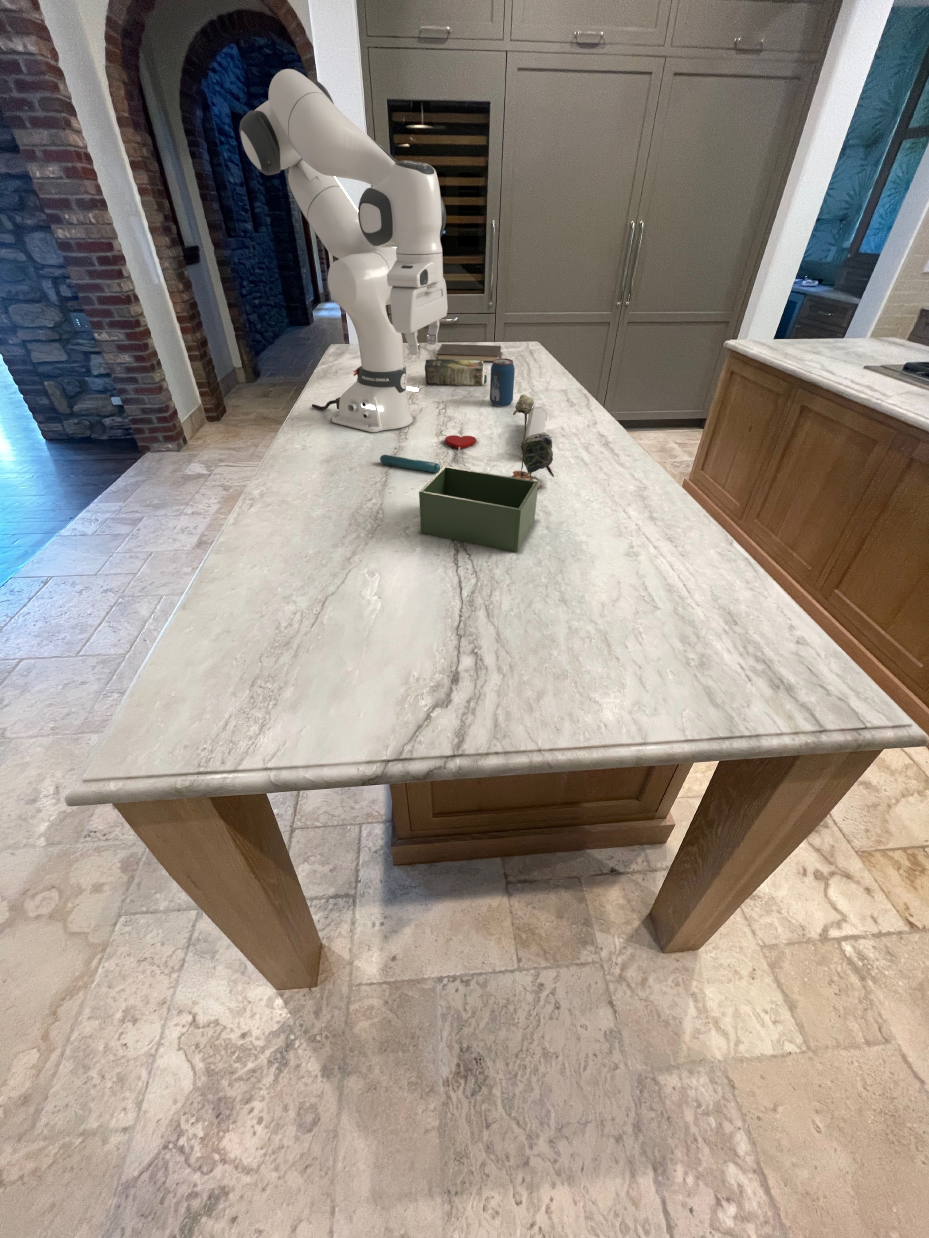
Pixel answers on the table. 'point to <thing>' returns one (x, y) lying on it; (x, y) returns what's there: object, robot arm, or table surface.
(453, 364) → the juice carton
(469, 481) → the bin
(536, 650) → the table surface
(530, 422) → the white square bar
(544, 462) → the plant with pod
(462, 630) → the table surface
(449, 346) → the hardcover book
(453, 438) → the lollipop
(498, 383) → the soda can
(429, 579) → the table surface
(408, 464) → the teal rod
